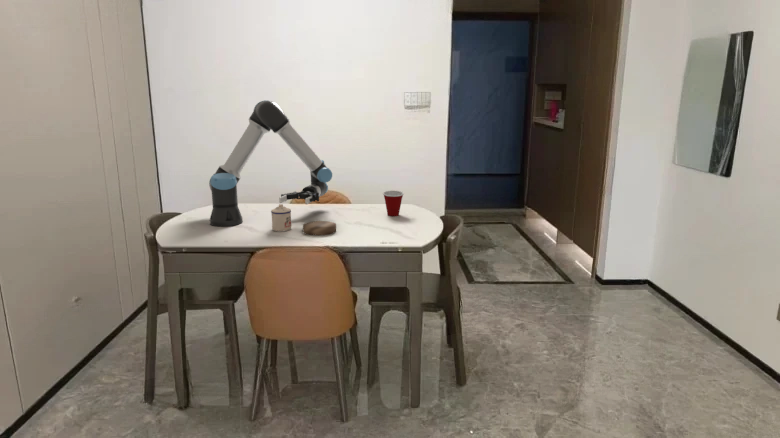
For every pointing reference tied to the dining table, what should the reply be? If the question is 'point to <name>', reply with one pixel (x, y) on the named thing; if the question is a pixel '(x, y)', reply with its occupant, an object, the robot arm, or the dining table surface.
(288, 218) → the teacup with lid
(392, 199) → the plastic cup
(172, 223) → the dining table surface
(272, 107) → the robot arm
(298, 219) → the dining table surface
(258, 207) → the dining table surface
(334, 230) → the brown round disc
